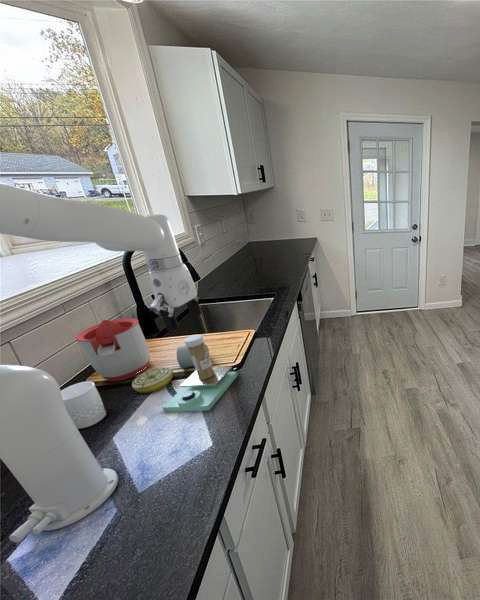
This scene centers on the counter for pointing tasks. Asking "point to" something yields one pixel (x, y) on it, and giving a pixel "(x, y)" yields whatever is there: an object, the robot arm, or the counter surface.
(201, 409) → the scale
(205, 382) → the scale pan
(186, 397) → the tare button
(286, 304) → the counter surface
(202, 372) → the sprinkles bottle
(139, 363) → the citrus juicer
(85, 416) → the white cup
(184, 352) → the ceramic mug
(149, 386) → the decorated donut
